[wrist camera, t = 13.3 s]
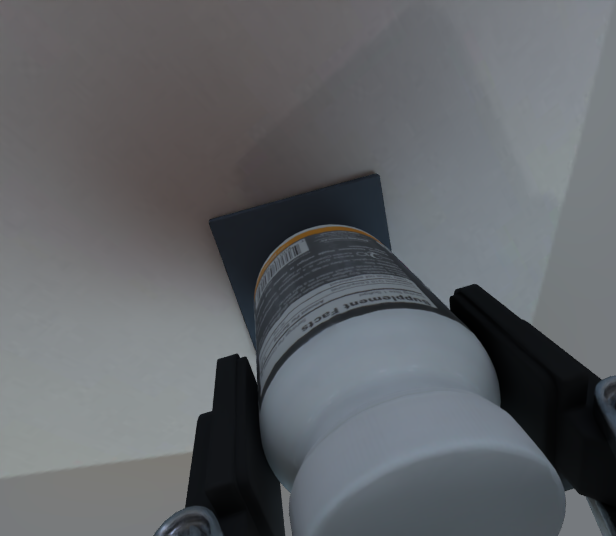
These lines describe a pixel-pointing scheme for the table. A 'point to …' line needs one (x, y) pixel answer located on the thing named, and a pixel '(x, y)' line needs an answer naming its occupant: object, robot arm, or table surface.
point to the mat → (292, 230)
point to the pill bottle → (386, 402)
